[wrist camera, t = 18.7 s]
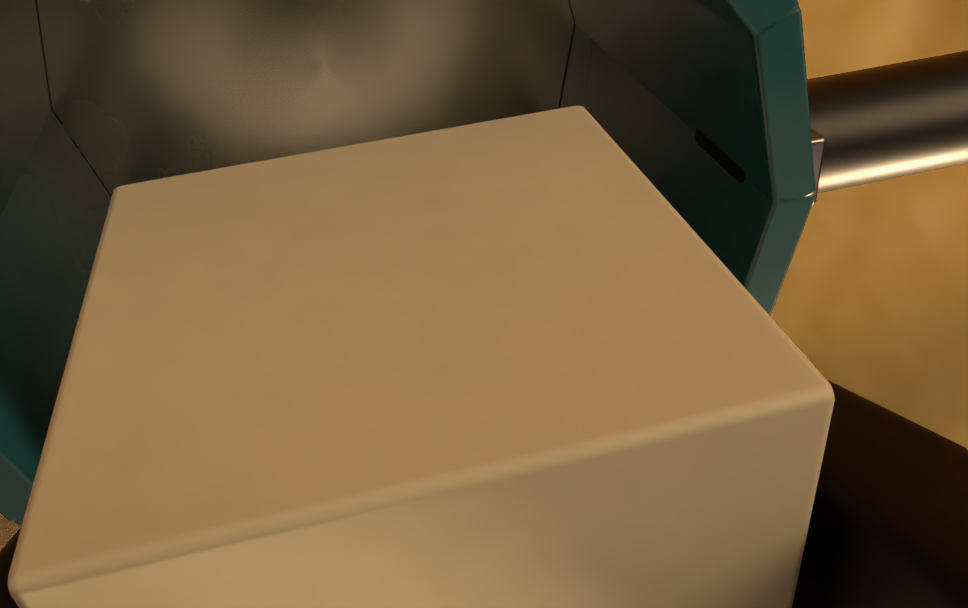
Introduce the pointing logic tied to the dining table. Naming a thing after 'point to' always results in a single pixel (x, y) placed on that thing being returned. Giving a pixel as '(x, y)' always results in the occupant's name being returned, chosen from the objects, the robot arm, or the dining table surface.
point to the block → (422, 392)
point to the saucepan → (420, 124)
